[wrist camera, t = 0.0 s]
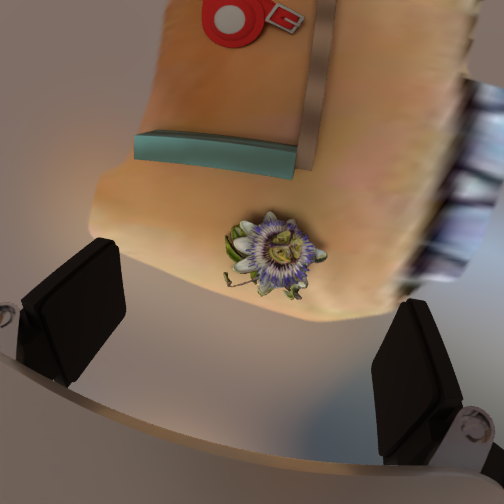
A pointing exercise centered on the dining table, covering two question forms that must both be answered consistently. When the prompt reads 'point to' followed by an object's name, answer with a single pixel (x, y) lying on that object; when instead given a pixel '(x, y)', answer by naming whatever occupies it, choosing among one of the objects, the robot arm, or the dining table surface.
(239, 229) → the passion flower
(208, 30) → the tracker holder
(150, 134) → the frame
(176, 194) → the dining table surface
